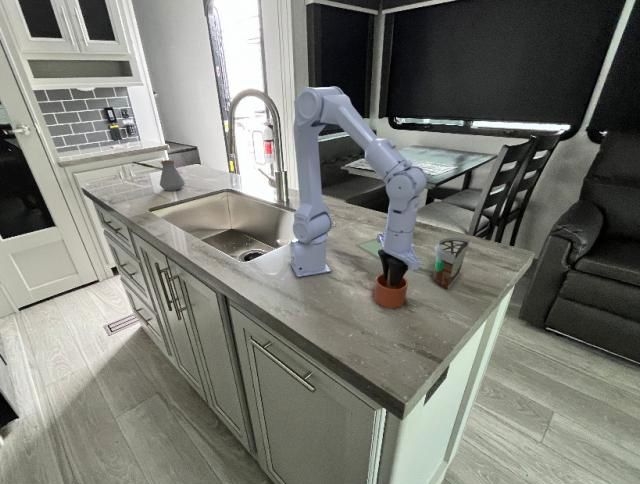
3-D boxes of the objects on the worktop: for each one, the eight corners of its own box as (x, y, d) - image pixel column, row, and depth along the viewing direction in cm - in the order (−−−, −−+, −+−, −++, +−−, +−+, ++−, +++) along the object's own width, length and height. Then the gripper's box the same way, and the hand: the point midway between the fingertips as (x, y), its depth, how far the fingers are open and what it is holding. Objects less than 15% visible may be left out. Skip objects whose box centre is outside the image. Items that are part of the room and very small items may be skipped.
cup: (382, 310, 73) (385, 292, 70) (368, 293, 79) (370, 275, 76) (410, 304, 75) (414, 287, 72) (394, 288, 81) (397, 271, 78)
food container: (438, 264, 91) (445, 232, 86) (461, 272, 87) (470, 238, 82) (421, 283, 82) (428, 248, 77) (445, 292, 79) (454, 256, 74)
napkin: (380, 259, 94) (380, 258, 94) (358, 246, 101) (358, 245, 101) (404, 250, 98) (405, 249, 98) (382, 238, 106) (382, 238, 106)
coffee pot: (180, 184, 163) (174, 153, 156) (190, 188, 156) (183, 156, 148) (136, 192, 151) (127, 159, 144) (144, 198, 144) (135, 164, 136)
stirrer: (388, 297, 75) (393, 264, 71) (383, 292, 77) (388, 259, 72) (396, 296, 76) (402, 263, 71) (391, 291, 77) (396, 258, 73)
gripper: (438, 239, 62) (425, 296, 69) (398, 213, 74) (391, 264, 81) (406, 243, 61) (396, 302, 68) (371, 216, 73) (365, 268, 80)
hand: (391, 281), depth 74 cm, fingers closed on stirrer, 2 cm apart
